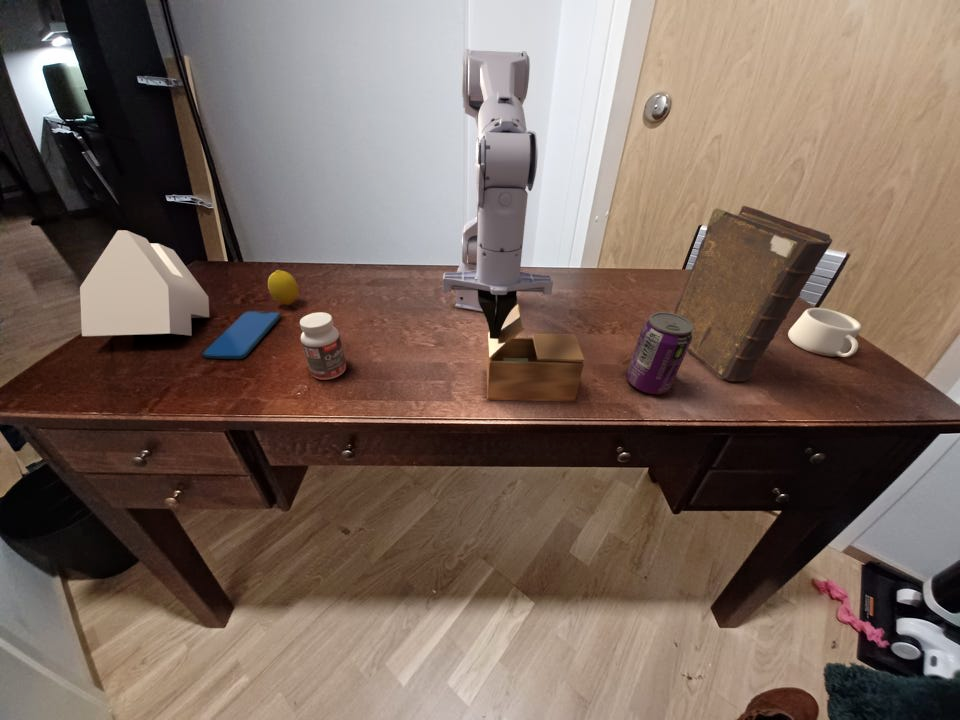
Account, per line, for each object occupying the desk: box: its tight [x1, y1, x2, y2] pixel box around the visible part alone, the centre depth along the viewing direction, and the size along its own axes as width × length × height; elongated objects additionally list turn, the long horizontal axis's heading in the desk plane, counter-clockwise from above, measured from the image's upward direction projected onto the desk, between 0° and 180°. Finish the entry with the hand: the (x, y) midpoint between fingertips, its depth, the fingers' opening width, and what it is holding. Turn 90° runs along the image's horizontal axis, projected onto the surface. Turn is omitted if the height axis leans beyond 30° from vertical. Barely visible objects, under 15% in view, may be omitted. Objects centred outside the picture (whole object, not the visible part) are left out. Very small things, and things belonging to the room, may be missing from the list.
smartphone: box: [202, 310, 282, 360], centre depth 69 cm, size 7×1×15 cm
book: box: [673, 205, 833, 382], centre depth 61 cm, size 17×7×25 cm, turn 9°
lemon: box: [267, 269, 299, 306], centre depth 77 cm, size 6×6×8 cm
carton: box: [486, 333, 585, 402], centre depth 58 cm, size 14×7×8 cm, turn 90°
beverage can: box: [625, 311, 693, 395], centre depth 58 cm, size 7×7×12 cm
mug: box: [787, 307, 862, 358], centre depth 71 cm, size 12×10×6 cm
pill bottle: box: [299, 311, 347, 381], centre depth 59 cm, size 6×6×10 cm
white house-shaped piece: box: [79, 229, 210, 339], centre depth 68 cm, size 14×11×18 cm
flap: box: [487, 303, 525, 359], centre depth 54 cm, size 7×7×1 cm
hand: (494, 335), depth 54 cm, fingers closed
